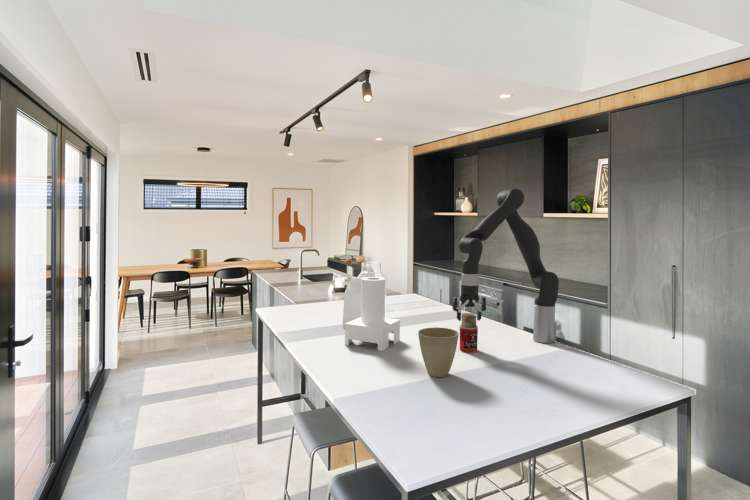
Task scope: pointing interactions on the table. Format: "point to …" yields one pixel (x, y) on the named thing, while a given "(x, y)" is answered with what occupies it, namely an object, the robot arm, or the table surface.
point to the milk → (352, 300)
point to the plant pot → (438, 349)
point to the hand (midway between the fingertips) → (468, 320)
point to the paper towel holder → (372, 316)
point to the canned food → (468, 339)
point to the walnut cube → (468, 320)
